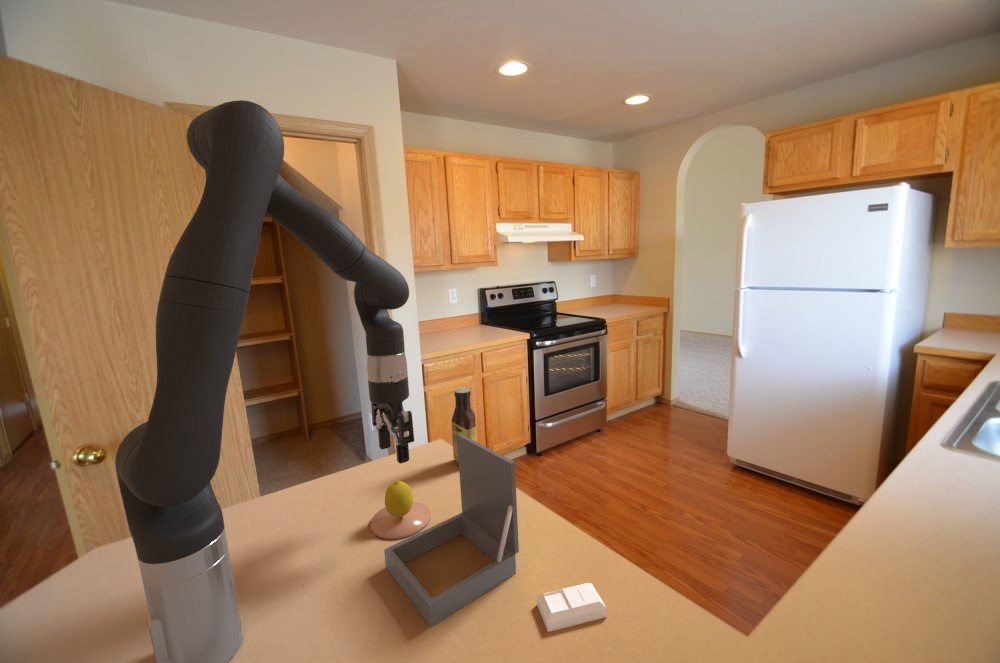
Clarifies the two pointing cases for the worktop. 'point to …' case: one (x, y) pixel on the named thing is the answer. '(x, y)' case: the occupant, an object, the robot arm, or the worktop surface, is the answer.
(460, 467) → the case
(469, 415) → the sauce bottle
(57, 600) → the worktop surface
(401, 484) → the lemon
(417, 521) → the saucer
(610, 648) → the worktop surface
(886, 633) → the worktop surface
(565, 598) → the white rocker switch
